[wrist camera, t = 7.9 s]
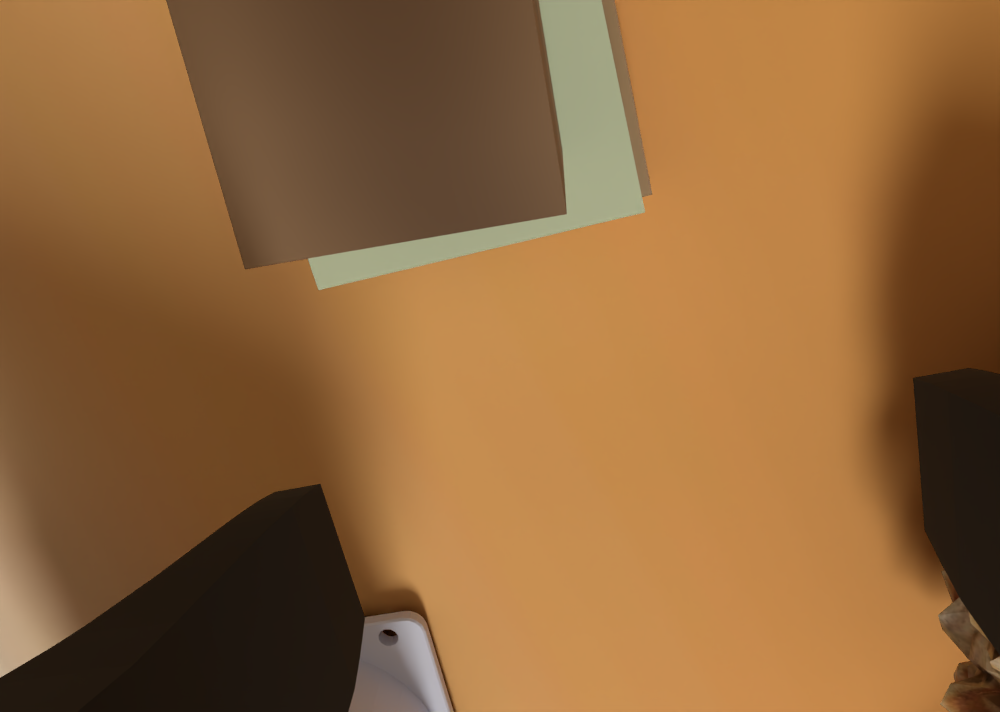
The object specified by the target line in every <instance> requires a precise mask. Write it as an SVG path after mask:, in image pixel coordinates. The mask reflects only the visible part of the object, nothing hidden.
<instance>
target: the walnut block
mask: <svg viewBox="0 0 1000 712" xmlns="http://www.w3.org/2000/svg"><path fill="white" fill-rule="evenodd" d="M166 1H167V5H168V8H169V12H170V15H171V18H172V22H173V25H174V29H175V32H176V35H177V39H178V42H179V46H180V49H181V53H182V56H183V59H184V63H185V66H186V70H187V73H188V76H189V80H190V83H191V87H192V90H193V93H194V97H195V100H196V104H197V107H198V111H199V114H200V117H201V121H202V124H203V128H204V131H205V134H206V138H207V141H208V145H209V148H210V151H211V155H212V158H213V162H214V165H215V169H216V172H217V175H218V179H219V182H220V186H221V189H222V192H223V196H224V199H225V203H226V206H227V210H228V213H229V216H230V220H231V223H232V227H233V230H234V233H235V237H236V240H237V244H238V247H239V250H240V254H241V257H242V261H243V264H244V268H245V269H250V268H256V267H261V266H267V265H273V264H279V263H285V262H291V261H296V260H302V259H308V258H314V257H320V256H326V255H332V254H337V253H343V252H349V251H355V250H361V249H367V248H372V247H378V246H384V245H390V244H396V243H402V242H408V241H413V240H419V239H425V238H431V237H437V236H443V235H448V234H454V233H460V232H466V231H472V230H478V229H484V228H489V227H495V226H501V225H507V224H513V223H519V222H524V221H530V220H536V219H542V218H548V217H554V216H559V215H565V214H567V209H566V194H565V179H564V165H563V150H562V144H561V138H560V131H559V125H558V119H557V112H556V106H555V100H554V94H553V87H552V81H551V75H550V68H549V62H548V56H547V50H546V43H545V37H544V31H543V24H542V18H541V12H540V6H539V0H166Z"/></svg>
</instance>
